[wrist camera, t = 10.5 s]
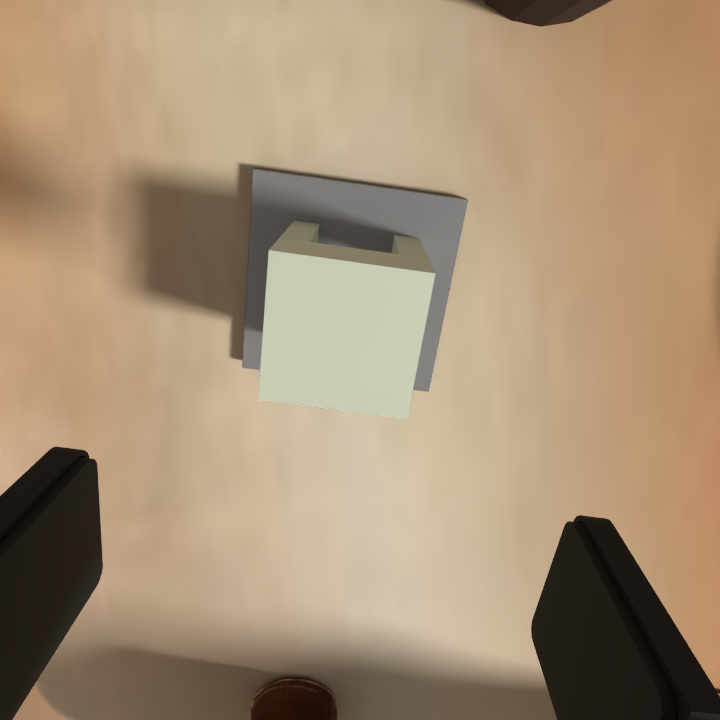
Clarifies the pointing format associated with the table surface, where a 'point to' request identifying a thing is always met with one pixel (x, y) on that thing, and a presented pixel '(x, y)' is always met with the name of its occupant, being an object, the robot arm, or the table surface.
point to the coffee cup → (294, 701)
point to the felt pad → (351, 240)
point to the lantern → (545, 10)
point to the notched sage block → (343, 323)
